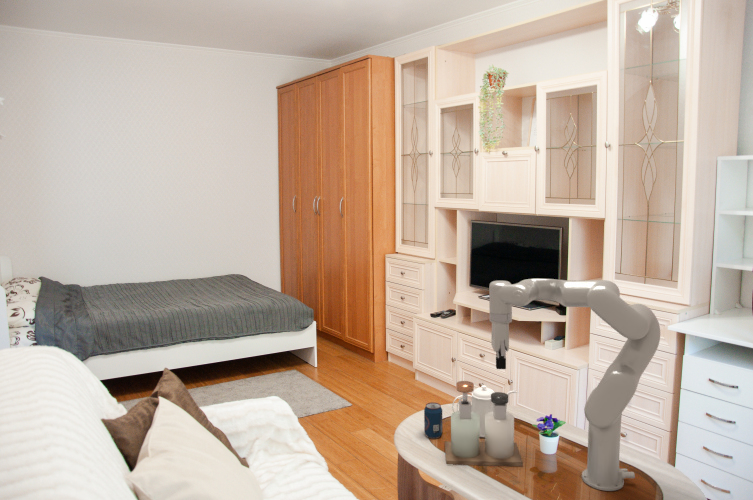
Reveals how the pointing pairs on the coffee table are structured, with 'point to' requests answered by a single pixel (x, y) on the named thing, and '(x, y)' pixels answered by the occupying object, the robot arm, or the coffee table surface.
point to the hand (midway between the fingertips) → (500, 368)
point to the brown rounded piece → (465, 389)
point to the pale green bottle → (465, 432)
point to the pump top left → (499, 398)
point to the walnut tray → (482, 457)
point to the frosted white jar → (499, 433)
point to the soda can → (433, 420)
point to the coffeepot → (481, 405)
